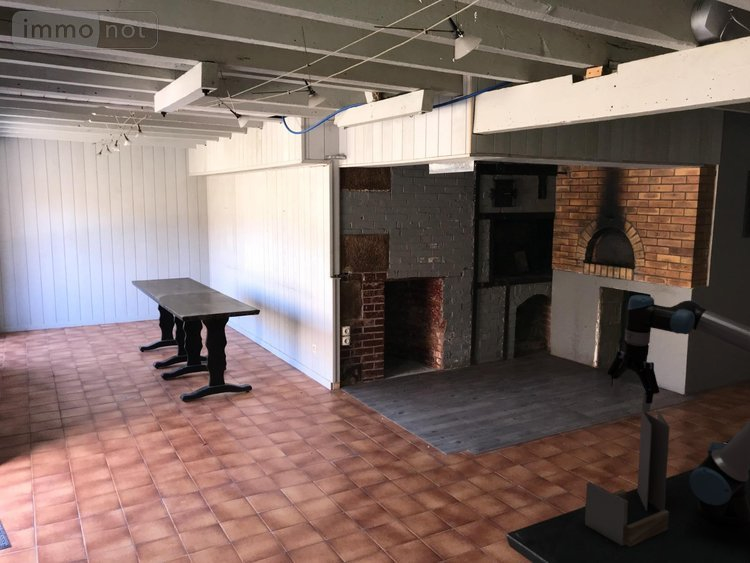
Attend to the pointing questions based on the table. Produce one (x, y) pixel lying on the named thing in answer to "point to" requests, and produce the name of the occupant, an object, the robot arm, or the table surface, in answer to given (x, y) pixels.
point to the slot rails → (644, 525)
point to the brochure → (653, 460)
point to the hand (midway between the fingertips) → (629, 404)
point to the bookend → (606, 513)
